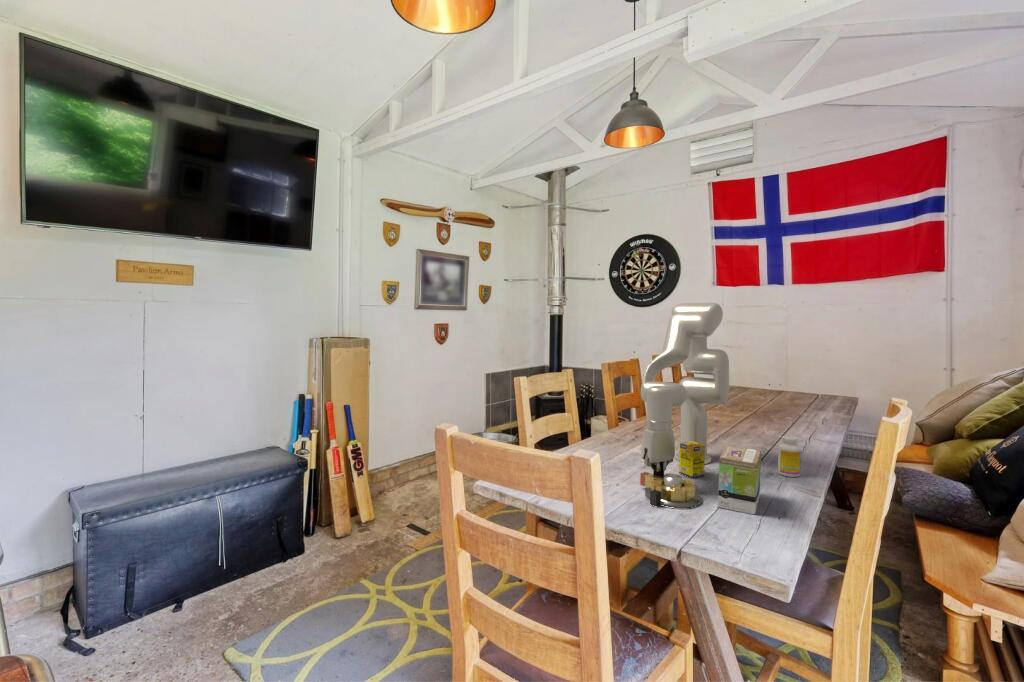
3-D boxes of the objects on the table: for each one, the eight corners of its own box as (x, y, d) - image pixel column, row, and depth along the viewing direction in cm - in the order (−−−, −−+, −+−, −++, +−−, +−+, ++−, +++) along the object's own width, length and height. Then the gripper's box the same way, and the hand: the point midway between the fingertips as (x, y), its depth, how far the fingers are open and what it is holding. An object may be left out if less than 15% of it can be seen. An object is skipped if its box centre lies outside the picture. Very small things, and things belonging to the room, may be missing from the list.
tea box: (756, 515, 125) (757, 462, 125) (716, 507, 131) (717, 456, 130) (760, 497, 138) (761, 449, 137) (724, 490, 144) (724, 444, 143)
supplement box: (692, 479, 154) (693, 447, 153) (678, 473, 159) (679, 442, 159) (705, 476, 157) (705, 444, 156) (690, 471, 162) (691, 440, 161)
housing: (630, 492, 143) (630, 471, 142) (677, 485, 148) (678, 465, 148) (661, 512, 127) (662, 489, 127) (713, 504, 133) (714, 482, 132)
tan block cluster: (631, 488, 142) (631, 475, 142) (653, 479, 150) (653, 467, 150) (680, 504, 130) (680, 490, 129) (701, 494, 137) (701, 480, 137)
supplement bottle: (803, 478, 154) (804, 440, 153) (781, 477, 155) (782, 439, 155) (795, 471, 161) (796, 435, 160) (774, 470, 162) (775, 434, 161)
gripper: (669, 420, 151) (668, 474, 152) (632, 425, 145) (632, 482, 146) (686, 425, 144) (685, 482, 145) (647, 430, 138) (647, 490, 139)
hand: (658, 482), depth 145 cm, fingers closed
